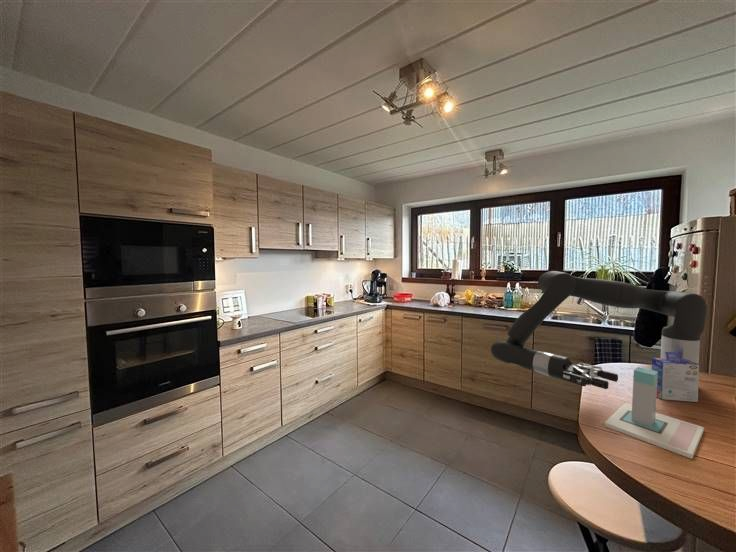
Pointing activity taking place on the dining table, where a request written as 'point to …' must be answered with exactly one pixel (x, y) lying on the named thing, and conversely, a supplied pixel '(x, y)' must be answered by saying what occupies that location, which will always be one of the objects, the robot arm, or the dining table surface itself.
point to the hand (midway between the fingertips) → (613, 381)
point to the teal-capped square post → (644, 396)
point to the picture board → (659, 431)
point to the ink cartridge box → (676, 378)
